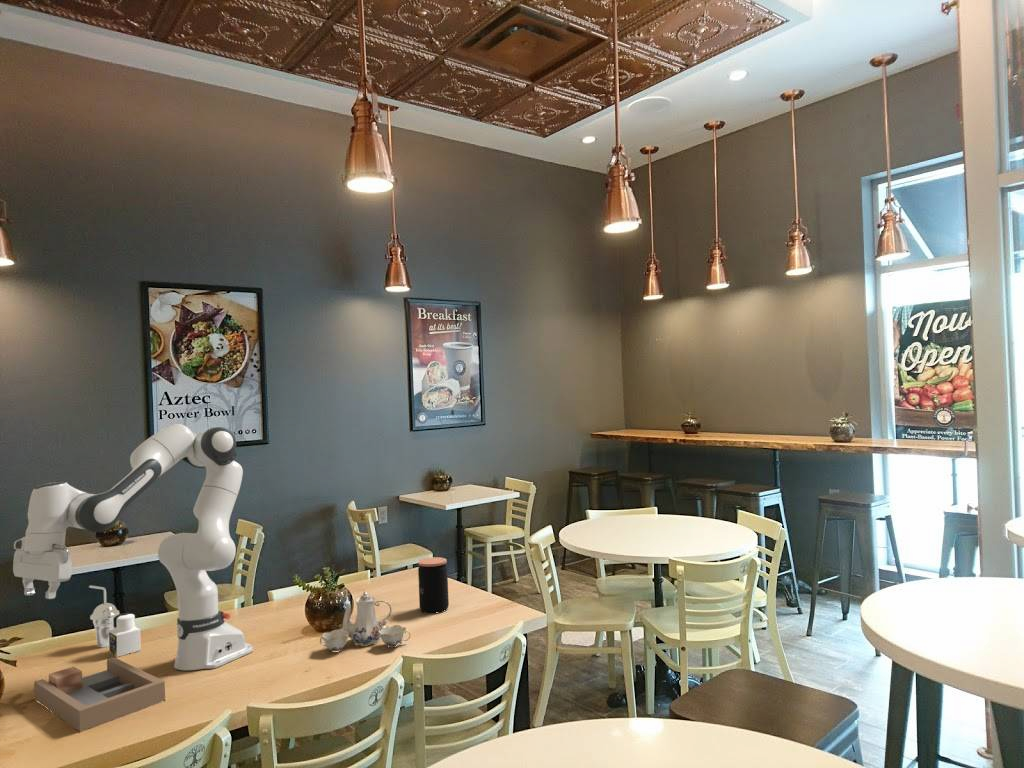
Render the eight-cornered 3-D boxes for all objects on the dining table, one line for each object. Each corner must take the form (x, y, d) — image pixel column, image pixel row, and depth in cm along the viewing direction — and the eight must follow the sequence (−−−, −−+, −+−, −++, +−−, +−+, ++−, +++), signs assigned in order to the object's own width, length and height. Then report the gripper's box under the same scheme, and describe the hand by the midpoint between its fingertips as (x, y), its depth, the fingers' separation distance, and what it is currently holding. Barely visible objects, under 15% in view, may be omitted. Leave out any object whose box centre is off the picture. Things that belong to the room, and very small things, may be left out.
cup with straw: (99, 651, 215) (98, 589, 216) (84, 647, 220) (82, 586, 220) (125, 642, 223) (124, 582, 223) (110, 639, 227) (109, 580, 228)
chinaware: (318, 664, 200) (315, 611, 199) (322, 640, 217) (320, 590, 215) (411, 653, 206) (409, 601, 205) (408, 630, 222) (407, 582, 221)
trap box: (114, 674, 195) (114, 657, 195) (165, 700, 176) (164, 681, 176) (34, 700, 179) (34, 681, 180) (80, 732, 160) (79, 711, 160)
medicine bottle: (109, 652, 214) (108, 615, 214) (133, 646, 219) (132, 609, 219) (116, 657, 209) (115, 619, 209) (141, 650, 214) (140, 613, 215)
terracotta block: (74, 682, 185) (73, 666, 185) (82, 687, 181) (81, 671, 182) (49, 690, 180) (48, 674, 181) (57, 695, 177) (56, 678, 177)
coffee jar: (424, 605, 250) (422, 557, 251) (451, 605, 248) (449, 557, 249) (416, 614, 239) (414, 564, 240) (445, 614, 238) (442, 563, 238)
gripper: (81, 544, 175) (75, 598, 173) (35, 539, 183) (30, 591, 182) (55, 546, 169) (50, 602, 167) (10, 542, 178) (4, 595, 176)
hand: (39, 596), depth 175 cm, fingers open, 8 cm apart
